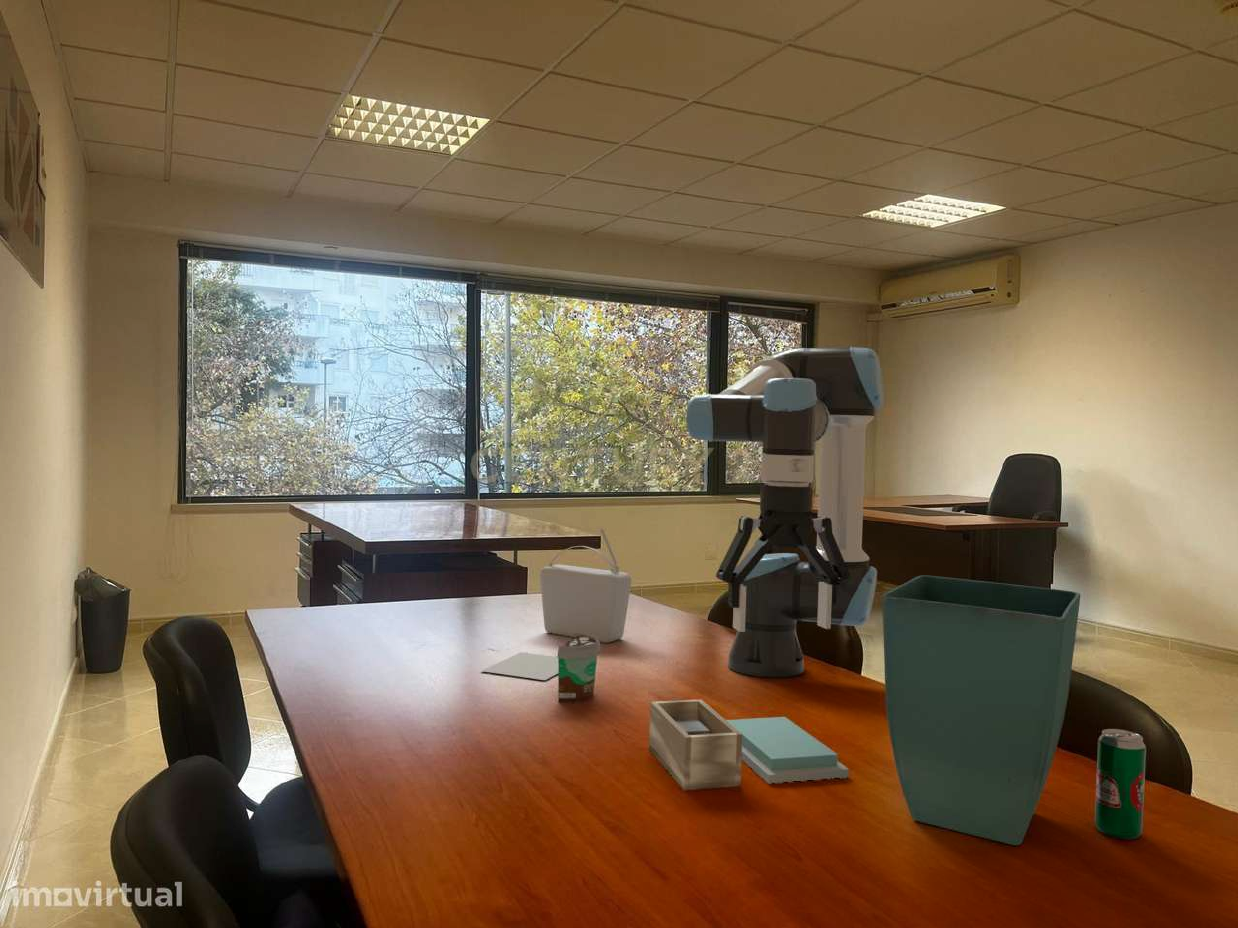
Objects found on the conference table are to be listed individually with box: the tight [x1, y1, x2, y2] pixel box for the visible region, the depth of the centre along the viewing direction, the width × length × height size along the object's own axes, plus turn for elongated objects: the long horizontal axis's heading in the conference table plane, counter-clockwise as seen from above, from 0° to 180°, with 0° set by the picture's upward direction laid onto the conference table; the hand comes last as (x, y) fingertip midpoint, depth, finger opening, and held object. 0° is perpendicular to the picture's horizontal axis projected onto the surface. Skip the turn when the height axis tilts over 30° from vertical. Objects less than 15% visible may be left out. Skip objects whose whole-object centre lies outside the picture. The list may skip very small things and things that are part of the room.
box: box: [648, 698, 743, 791], centre depth 127 cm, size 8×16×7 cm, turn 15°
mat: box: [742, 746, 850, 785], centre depth 132 cm, size 12×20×1 cm, turn 15°
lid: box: [725, 716, 839, 771], centre depth 132 cm, size 10×17×2 cm, turn 15°
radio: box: [539, 528, 632, 644], centre depth 207 cm, size 22×8×25 cm, turn 58°
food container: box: [556, 632, 602, 703], centre depth 159 cm, size 12×6×10 cm, turn 168°
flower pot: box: [881, 575, 1081, 846], centre depth 111 cm, size 20×20×28 cm
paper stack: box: [480, 651, 558, 681], centre depth 184 cm, size 23×25×1 cm
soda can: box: [1094, 728, 1147, 841], centre depth 109 cm, size 5×5×12 cm
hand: (781, 628), depth 132 cm, fingers open, 13 cm apart
